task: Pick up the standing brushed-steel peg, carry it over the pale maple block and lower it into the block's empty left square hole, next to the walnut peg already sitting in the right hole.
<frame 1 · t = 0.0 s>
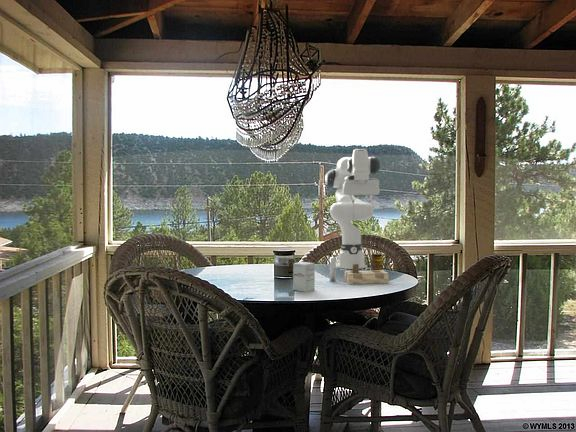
hand: (361, 203, 299), 39 cm above the table, tool pointing down, fingers open, 8 cm apart
condiment: (375, 277, 290), on the table
hole block: (366, 282, 273), on the table
supplement box: (303, 290, 252), on the table
walnut peg: (355, 282, 273), resting in hole block
steel peg: (332, 281, 277), on the table
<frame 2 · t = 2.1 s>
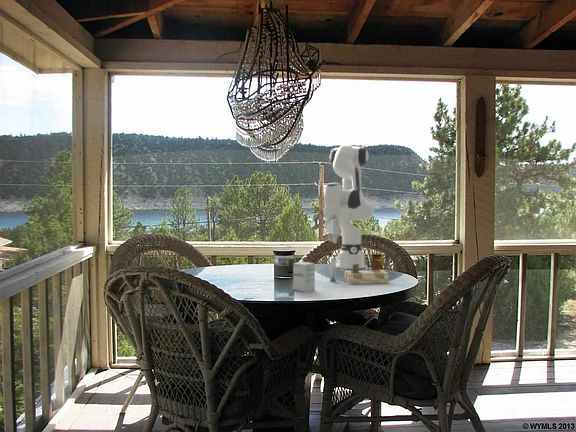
hand: (332, 242, 275), 20 cm above the table, tool pointing down, fingers open, 8 cm apart
nothing on the table moved.
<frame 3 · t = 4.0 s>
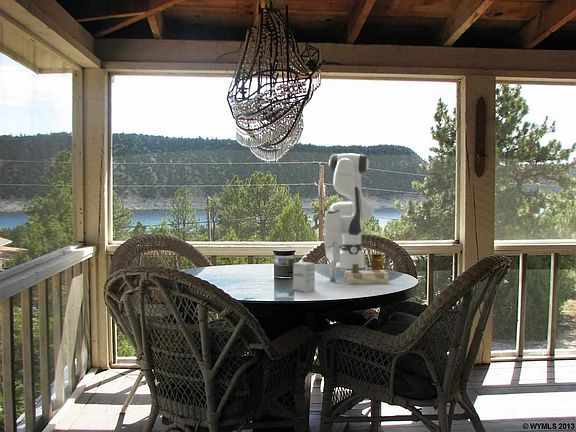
hand: (332, 269, 276), 6 cm above the table, tool pointing down, fingers closed on steel peg, 3 cm apart
steel peg: (332, 281, 277), on the table, touching gripper
everything else where it was.
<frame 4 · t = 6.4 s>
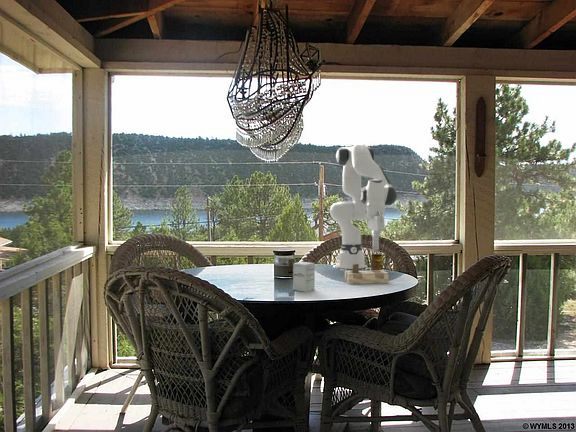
hand: (375, 239, 273), 21 cm above the table, tool pointing down, fingers closed on steel peg, 3 cm apart
steel peg: (375, 251, 273), point 15 cm above the table, touching gripper
everything else where it was.
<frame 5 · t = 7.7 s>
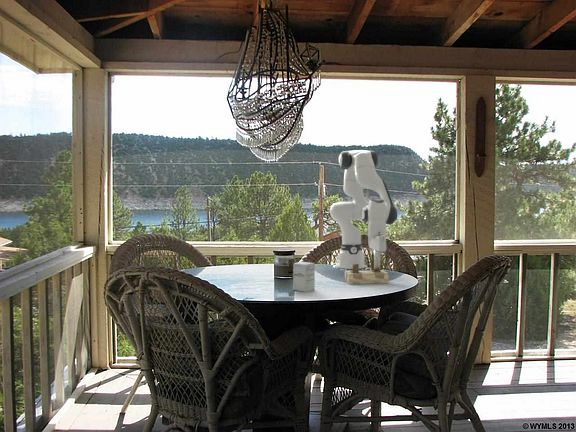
hand: (377, 259, 273), 11 cm above the table, tool pointing down, fingers closed on steel peg, 3 cm apart
steel peg: (377, 271, 274), point 5 cm above the table, touching gripper
everything else where it was.
when the fingers open (8 cm above the table, at t = 8.7 s): steel peg drops 1 cm, resting in hole block.
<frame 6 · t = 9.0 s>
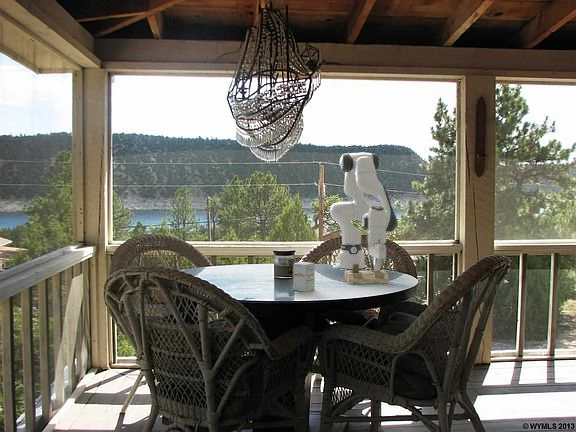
hand: (377, 266, 274), 8 cm above the table, tool pointing down, fingers open, 6 cm apart
steel peg: (376, 281, 274), resting in hole block
everything else where it was.
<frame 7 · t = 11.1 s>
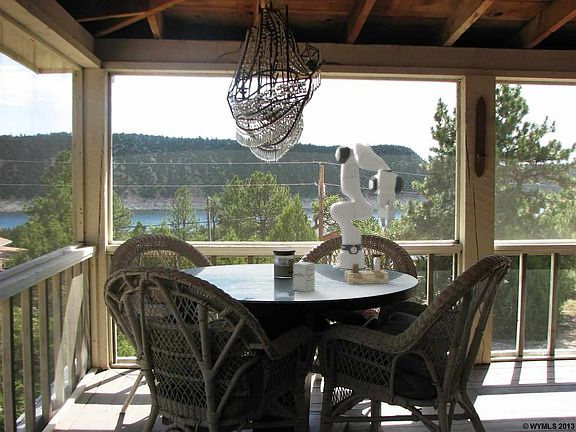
hand: (385, 227, 278), 27 cm above the table, tool pointing down, fingers open, 8 cm apart
nothing on the table moved.
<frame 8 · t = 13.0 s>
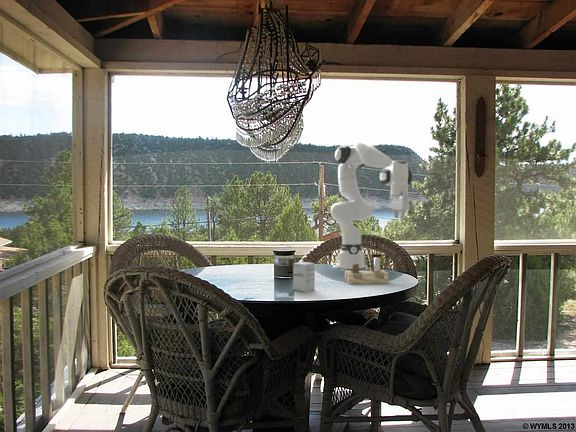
hand: (399, 218, 284), 31 cm above the table, tool pointing down, fingers open, 8 cm apart
nothing on the table moved.
at the end: steel peg 0.0 cm from the target spot on the hole block, point 0.0 cm above the hole block's base; steel peg tilted 0°; the gripper is holding nothing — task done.
